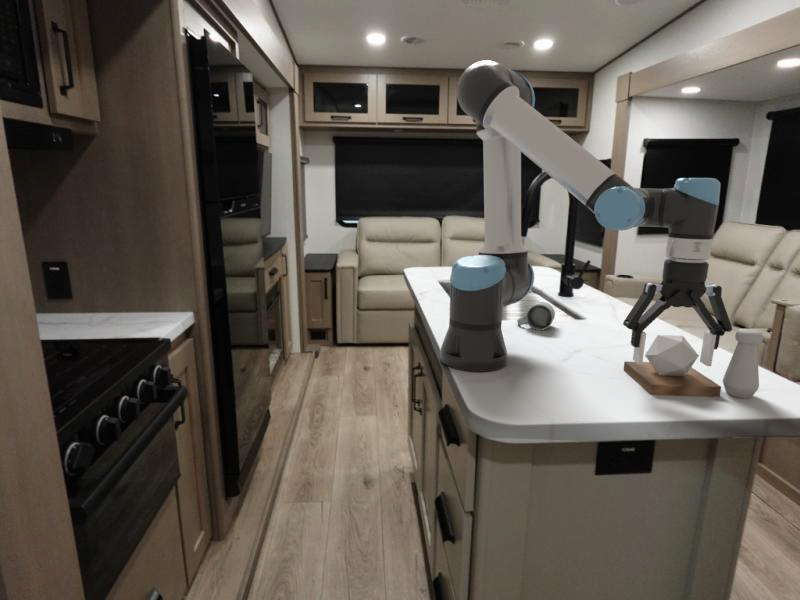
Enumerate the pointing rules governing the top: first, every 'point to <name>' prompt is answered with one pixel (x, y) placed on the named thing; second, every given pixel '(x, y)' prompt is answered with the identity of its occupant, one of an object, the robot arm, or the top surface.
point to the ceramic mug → (538, 316)
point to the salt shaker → (744, 365)
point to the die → (671, 355)
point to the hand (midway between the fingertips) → (671, 363)
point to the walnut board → (671, 381)
